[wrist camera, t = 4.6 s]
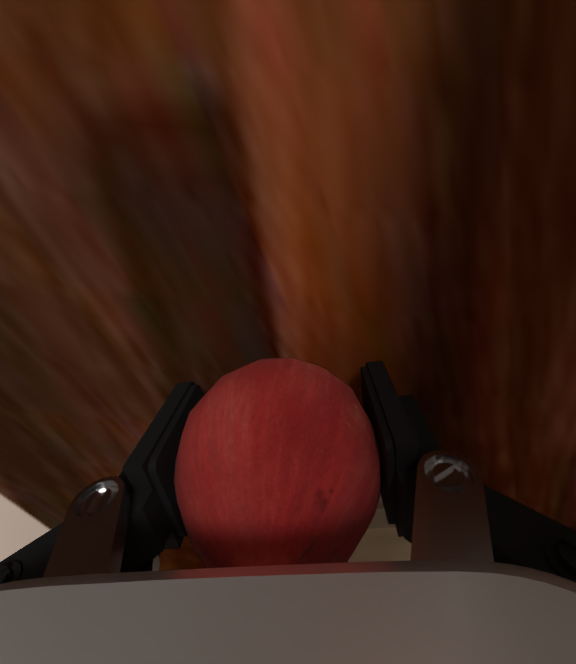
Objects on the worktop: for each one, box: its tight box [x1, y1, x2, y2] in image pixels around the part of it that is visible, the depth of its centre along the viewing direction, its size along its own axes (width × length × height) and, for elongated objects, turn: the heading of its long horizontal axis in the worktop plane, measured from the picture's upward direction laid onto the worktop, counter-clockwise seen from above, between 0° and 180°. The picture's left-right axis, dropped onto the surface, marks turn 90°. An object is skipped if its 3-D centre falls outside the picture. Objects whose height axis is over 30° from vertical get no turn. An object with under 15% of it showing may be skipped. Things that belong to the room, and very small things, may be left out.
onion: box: [174, 358, 381, 568], centre depth 9 cm, size 6×6×8 cm
